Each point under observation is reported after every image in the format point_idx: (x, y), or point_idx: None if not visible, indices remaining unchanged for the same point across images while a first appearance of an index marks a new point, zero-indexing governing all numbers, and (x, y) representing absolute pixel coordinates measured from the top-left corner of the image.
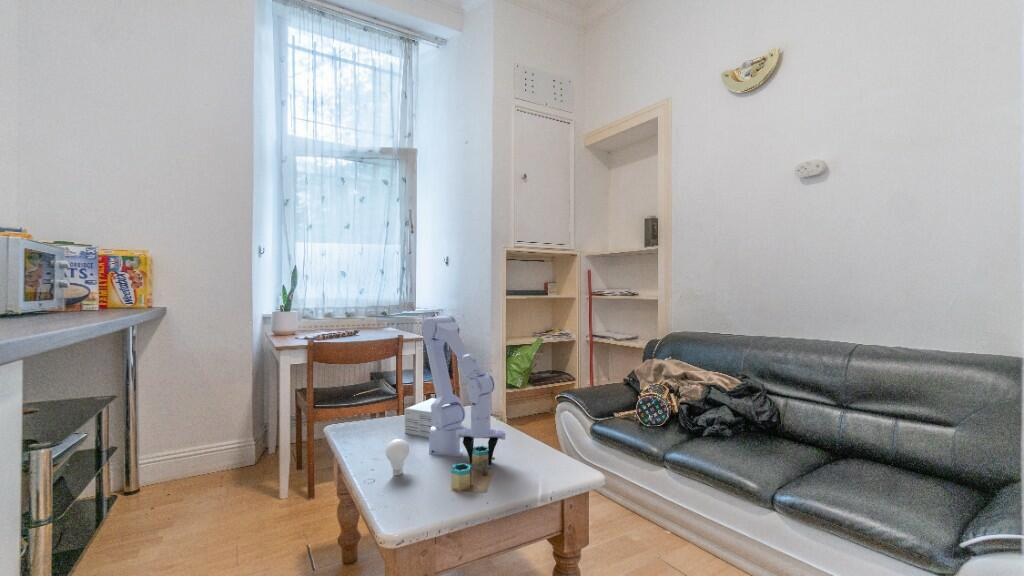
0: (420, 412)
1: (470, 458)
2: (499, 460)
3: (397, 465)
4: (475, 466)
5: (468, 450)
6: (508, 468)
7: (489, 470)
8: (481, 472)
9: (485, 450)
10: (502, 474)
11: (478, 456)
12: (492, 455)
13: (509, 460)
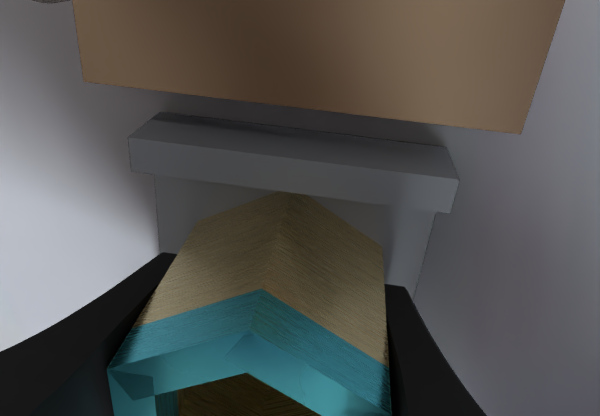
0: None
1: (408, 319)
2: None
3: None
4: (334, 189)
5: (458, 414)
6: (20, 236)
7: (139, 87)
8: (235, 21)
9: (157, 391)
10: (34, 105)
11: (278, 290)
12: None
13: None
